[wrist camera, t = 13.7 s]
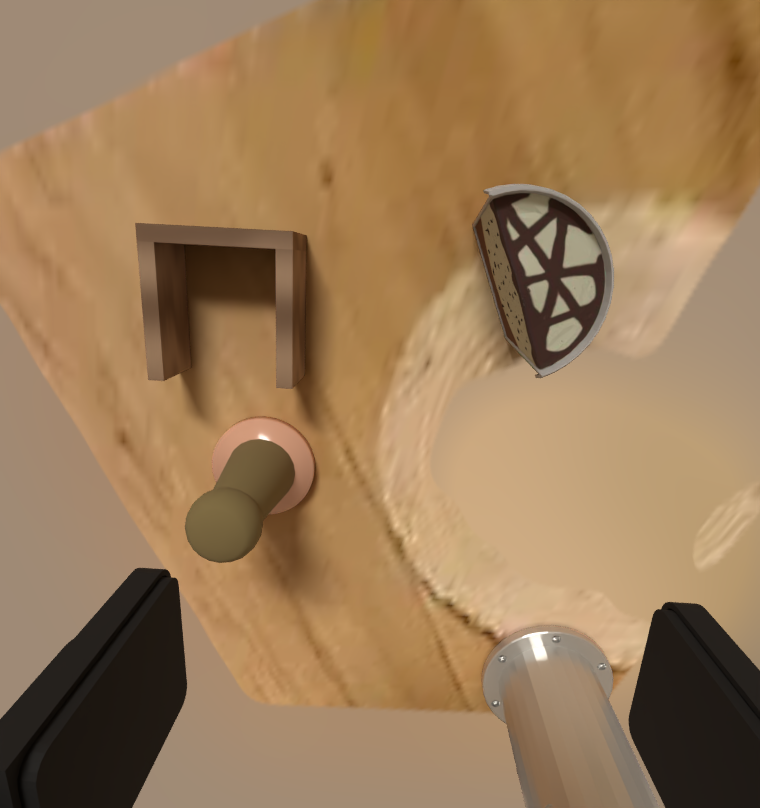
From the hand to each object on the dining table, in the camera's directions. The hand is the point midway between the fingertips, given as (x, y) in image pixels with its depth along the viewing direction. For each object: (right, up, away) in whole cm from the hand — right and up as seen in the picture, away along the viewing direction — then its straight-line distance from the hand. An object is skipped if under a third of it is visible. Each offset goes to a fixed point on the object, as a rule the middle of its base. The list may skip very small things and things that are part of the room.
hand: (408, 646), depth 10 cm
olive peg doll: (-11, -1, +34) cm, 35 cm away
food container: (+11, +15, +29) cm, 35 cm away
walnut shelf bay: (-12, +13, +30) cm, 35 cm away
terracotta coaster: (-11, -1, +34) cm, 36 cm away
